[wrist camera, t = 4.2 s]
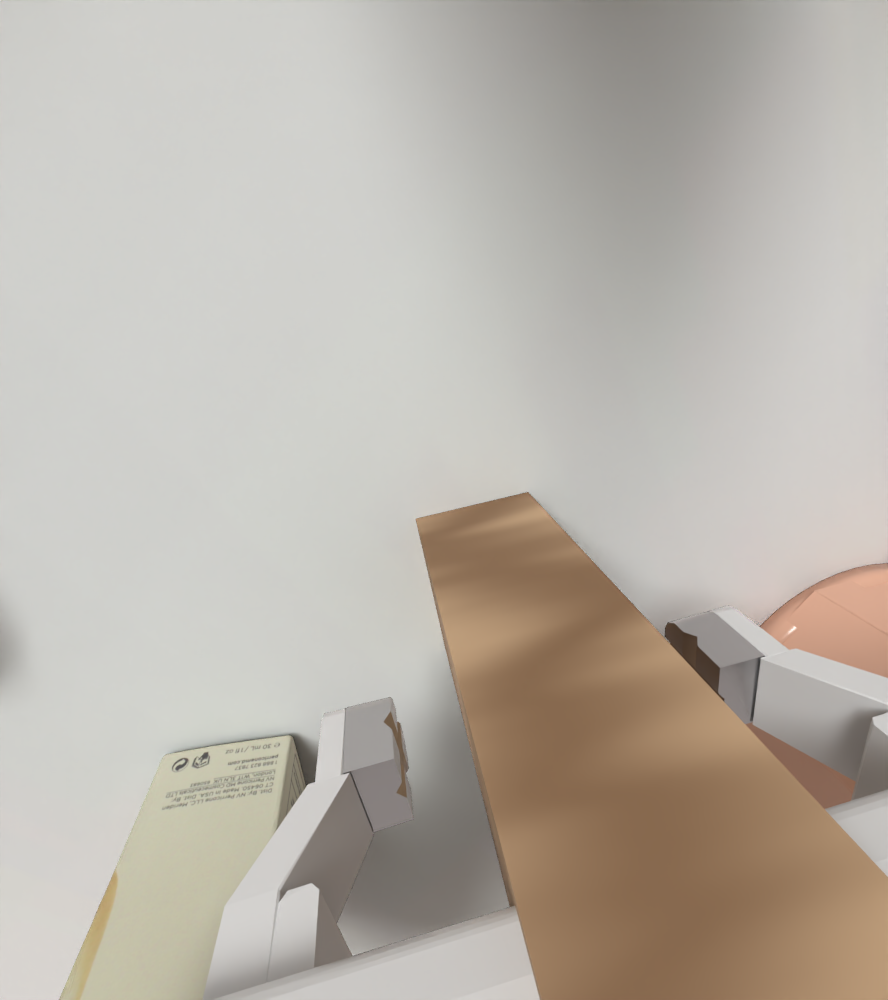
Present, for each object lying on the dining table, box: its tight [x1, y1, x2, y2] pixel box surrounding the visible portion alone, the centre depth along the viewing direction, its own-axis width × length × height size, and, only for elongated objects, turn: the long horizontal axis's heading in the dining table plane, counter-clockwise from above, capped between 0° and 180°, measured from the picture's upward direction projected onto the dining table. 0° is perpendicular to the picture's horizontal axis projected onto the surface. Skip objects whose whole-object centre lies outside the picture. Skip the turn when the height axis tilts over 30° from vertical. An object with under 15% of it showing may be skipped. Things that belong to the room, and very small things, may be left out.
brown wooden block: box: [416, 492, 888, 1000], centre depth 9 cm, size 4×5×12 cm
